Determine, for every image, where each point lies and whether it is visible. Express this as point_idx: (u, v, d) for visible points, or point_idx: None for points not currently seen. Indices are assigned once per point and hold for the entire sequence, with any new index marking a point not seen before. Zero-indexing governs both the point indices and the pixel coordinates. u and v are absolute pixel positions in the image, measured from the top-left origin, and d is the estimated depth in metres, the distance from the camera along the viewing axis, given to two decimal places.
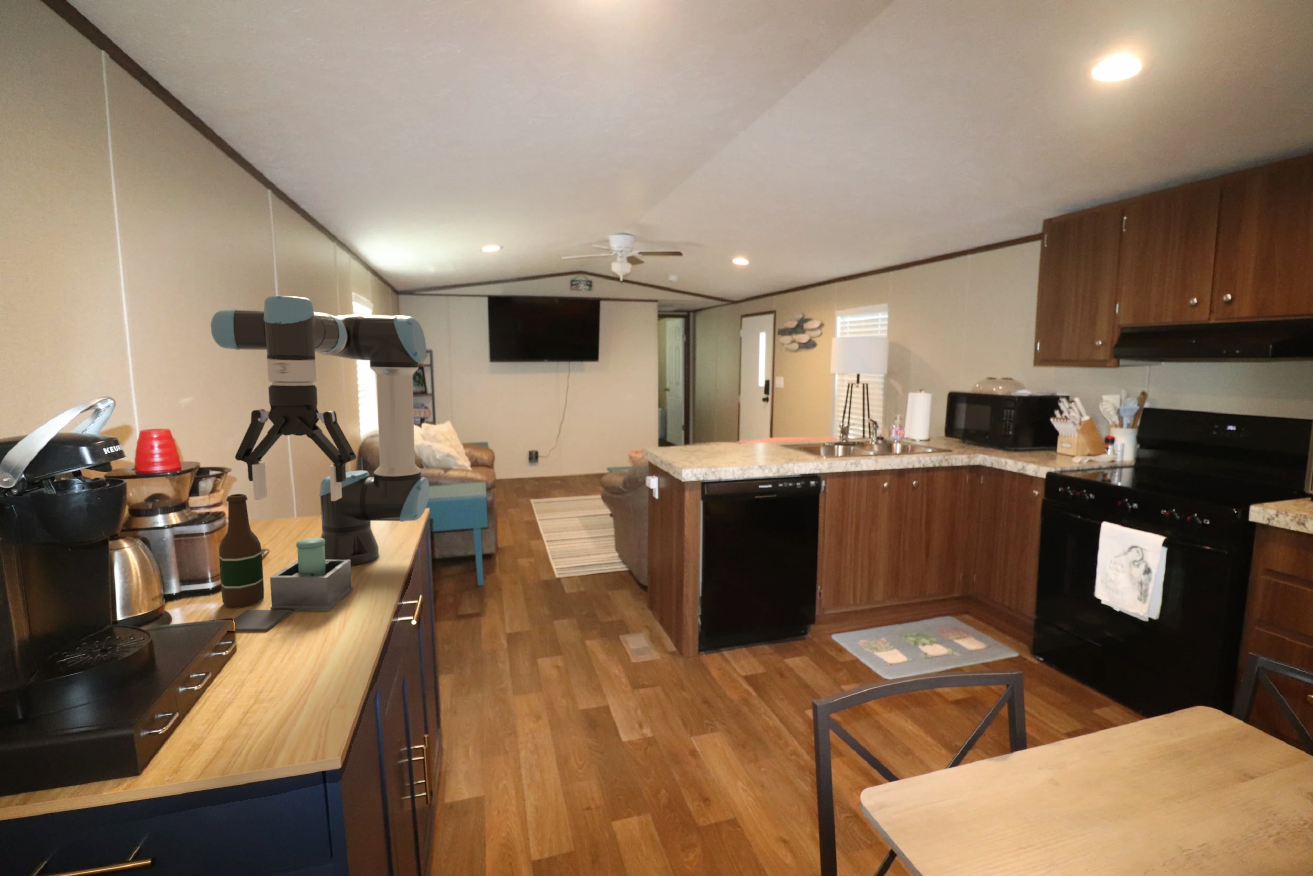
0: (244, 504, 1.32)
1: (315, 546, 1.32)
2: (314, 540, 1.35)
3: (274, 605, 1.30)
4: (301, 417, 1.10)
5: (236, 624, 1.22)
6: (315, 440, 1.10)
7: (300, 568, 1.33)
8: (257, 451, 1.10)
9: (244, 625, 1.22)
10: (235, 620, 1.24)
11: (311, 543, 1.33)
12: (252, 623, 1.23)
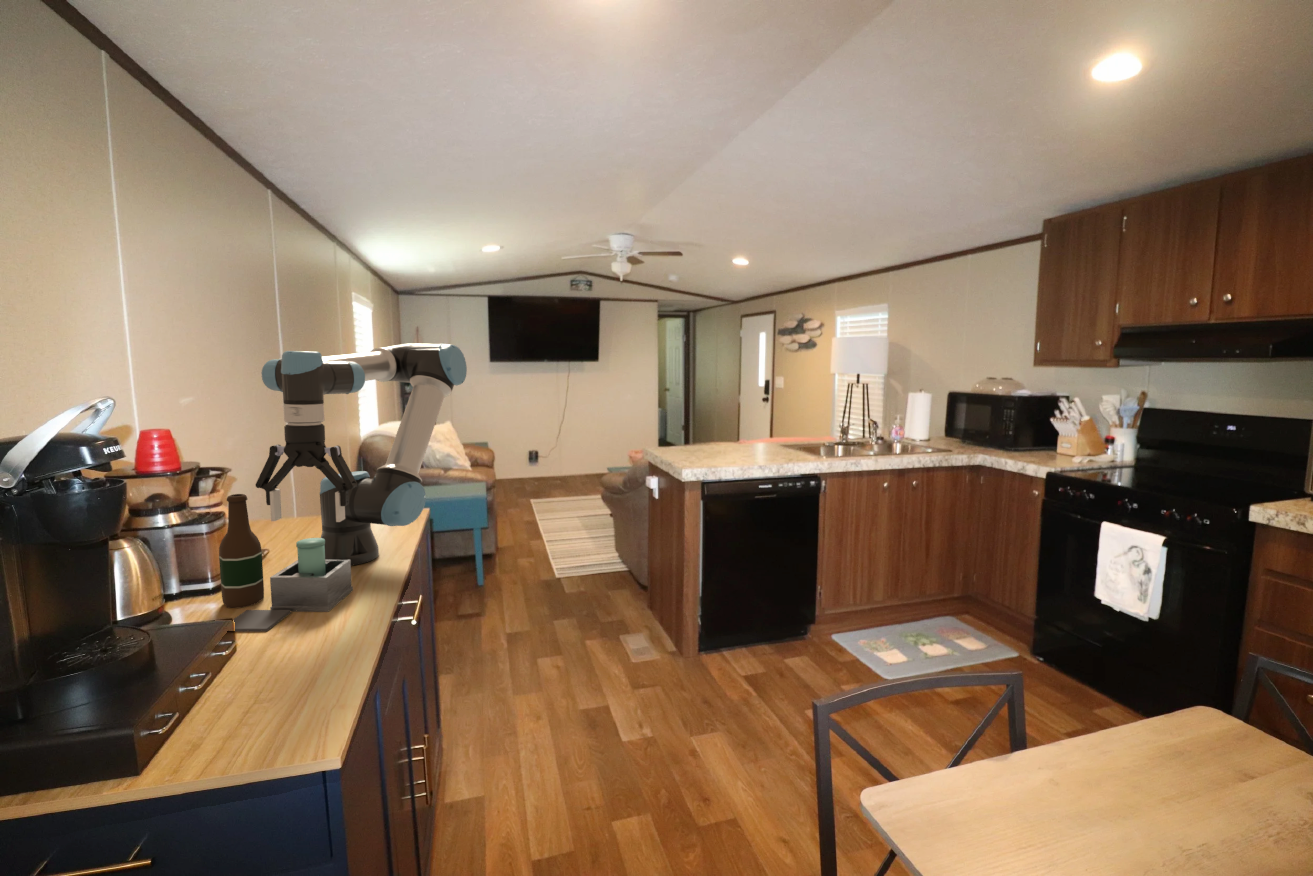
0: (244, 504, 1.32)
1: (315, 546, 1.32)
2: (314, 540, 1.35)
3: (274, 605, 1.30)
4: (311, 451, 1.30)
5: (236, 624, 1.22)
6: (323, 471, 1.31)
7: (300, 568, 1.33)
8: (274, 480, 1.31)
9: (244, 625, 1.22)
10: (235, 620, 1.24)
11: (311, 543, 1.33)
12: (252, 623, 1.23)
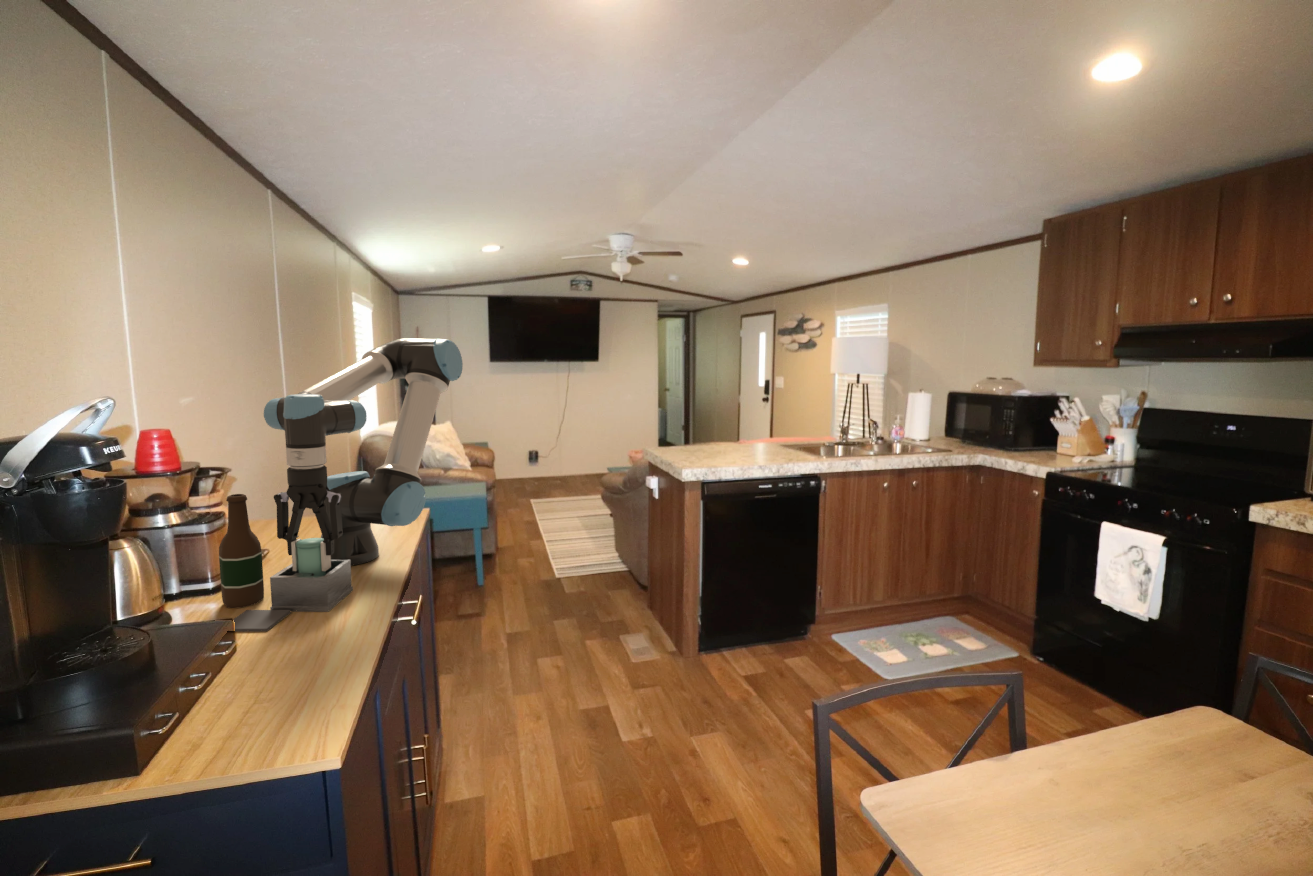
0: (244, 504, 1.32)
1: (315, 546, 1.32)
2: (314, 540, 1.35)
3: (274, 605, 1.30)
4: (315, 495, 1.32)
5: (236, 624, 1.22)
6: (317, 516, 1.32)
7: (300, 568, 1.33)
8: (291, 529, 1.32)
9: (244, 625, 1.22)
10: (235, 620, 1.24)
11: (311, 543, 1.33)
12: (252, 623, 1.23)
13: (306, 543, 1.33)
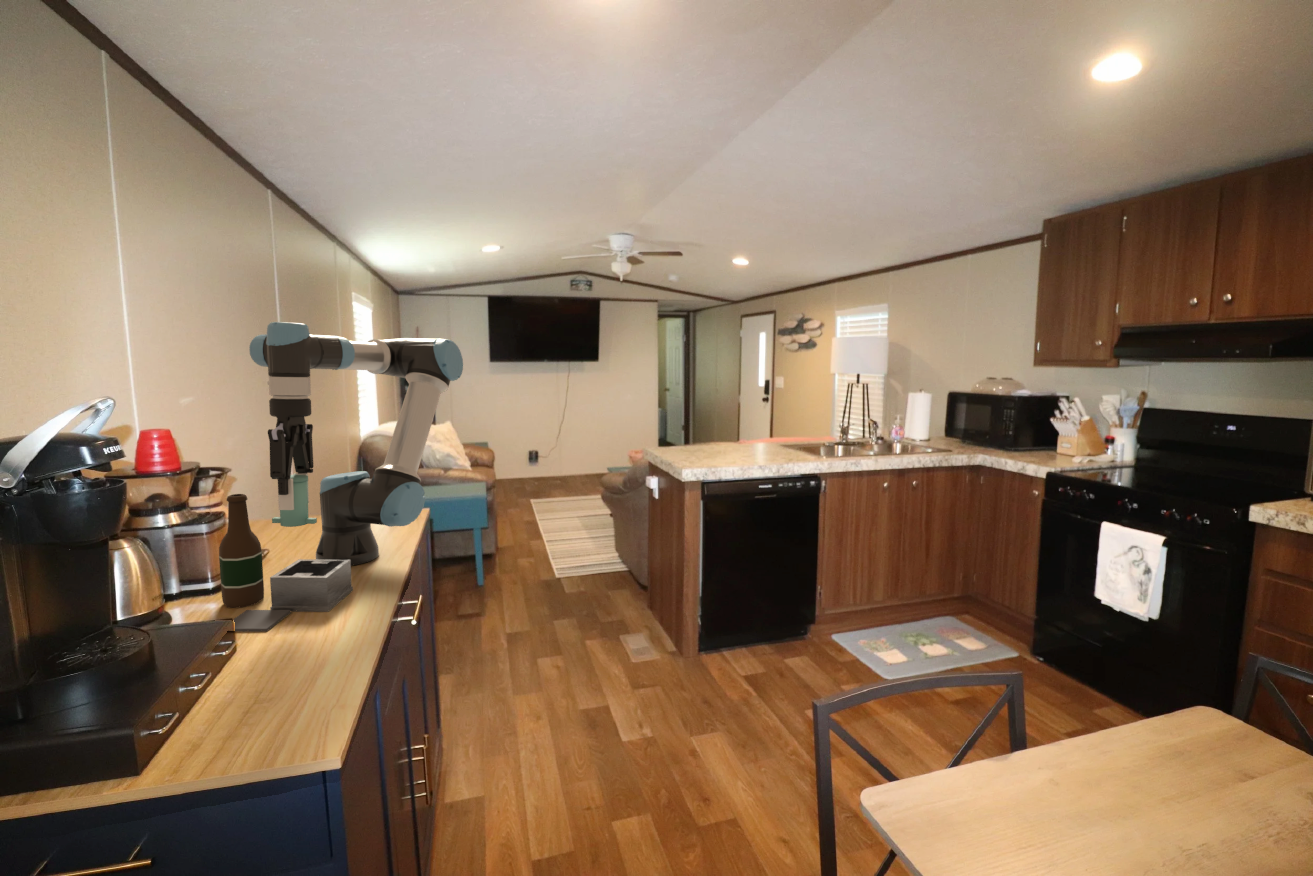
0: (244, 504, 1.32)
1: None
2: (297, 477, 1.29)
3: (274, 605, 1.30)
4: None
5: (236, 624, 1.22)
6: None
7: None
8: None
9: (244, 625, 1.22)
10: (235, 620, 1.24)
11: None
12: (252, 623, 1.23)
13: None
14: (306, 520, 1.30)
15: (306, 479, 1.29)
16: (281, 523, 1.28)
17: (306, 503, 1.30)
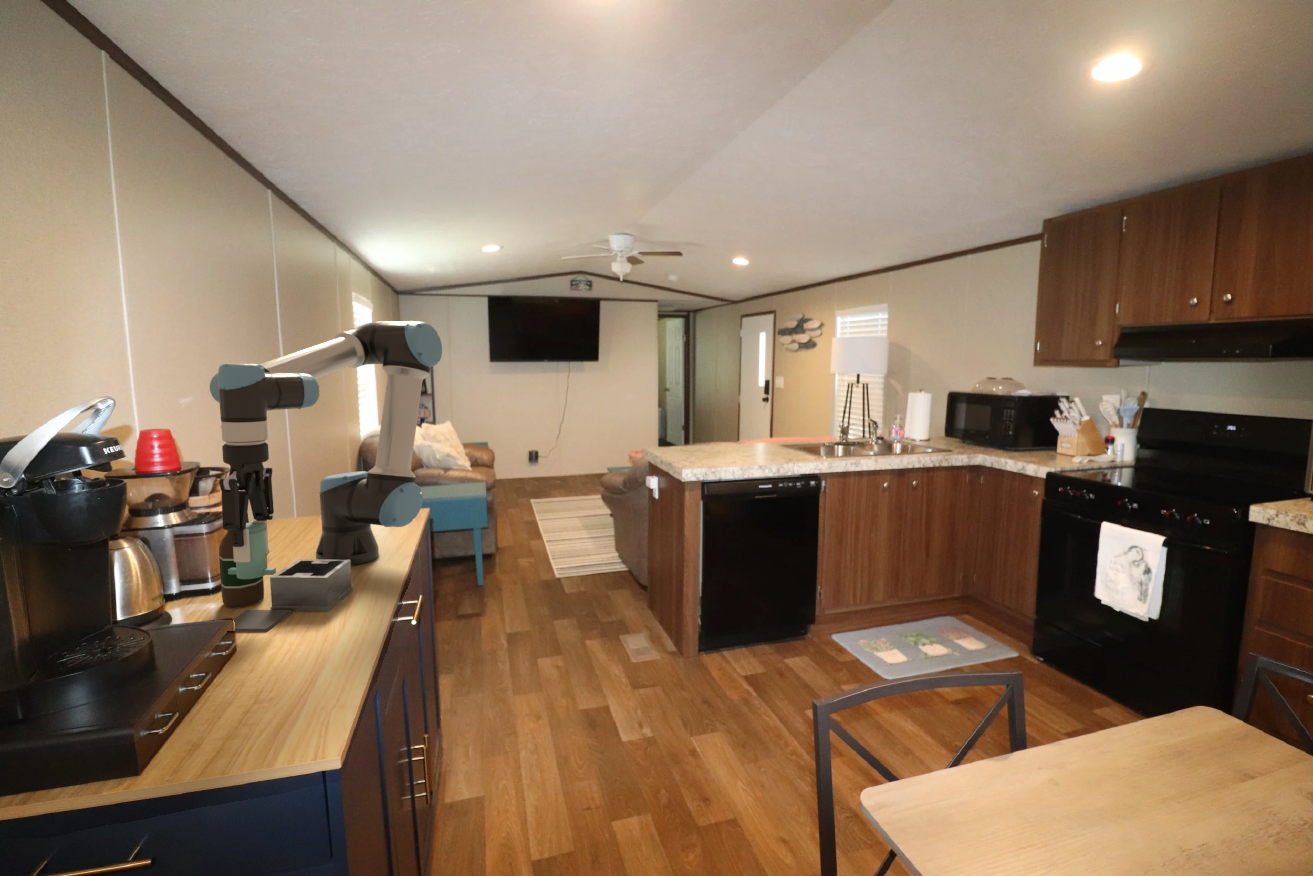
0: None
1: None
2: (254, 526, 1.22)
3: (274, 605, 1.30)
4: None
5: (236, 624, 1.22)
6: None
7: None
8: None
9: (244, 625, 1.22)
10: (235, 620, 1.24)
11: None
12: (252, 623, 1.23)
13: None
14: (264, 571, 1.23)
15: (263, 528, 1.22)
16: (237, 575, 1.21)
17: (264, 553, 1.23)
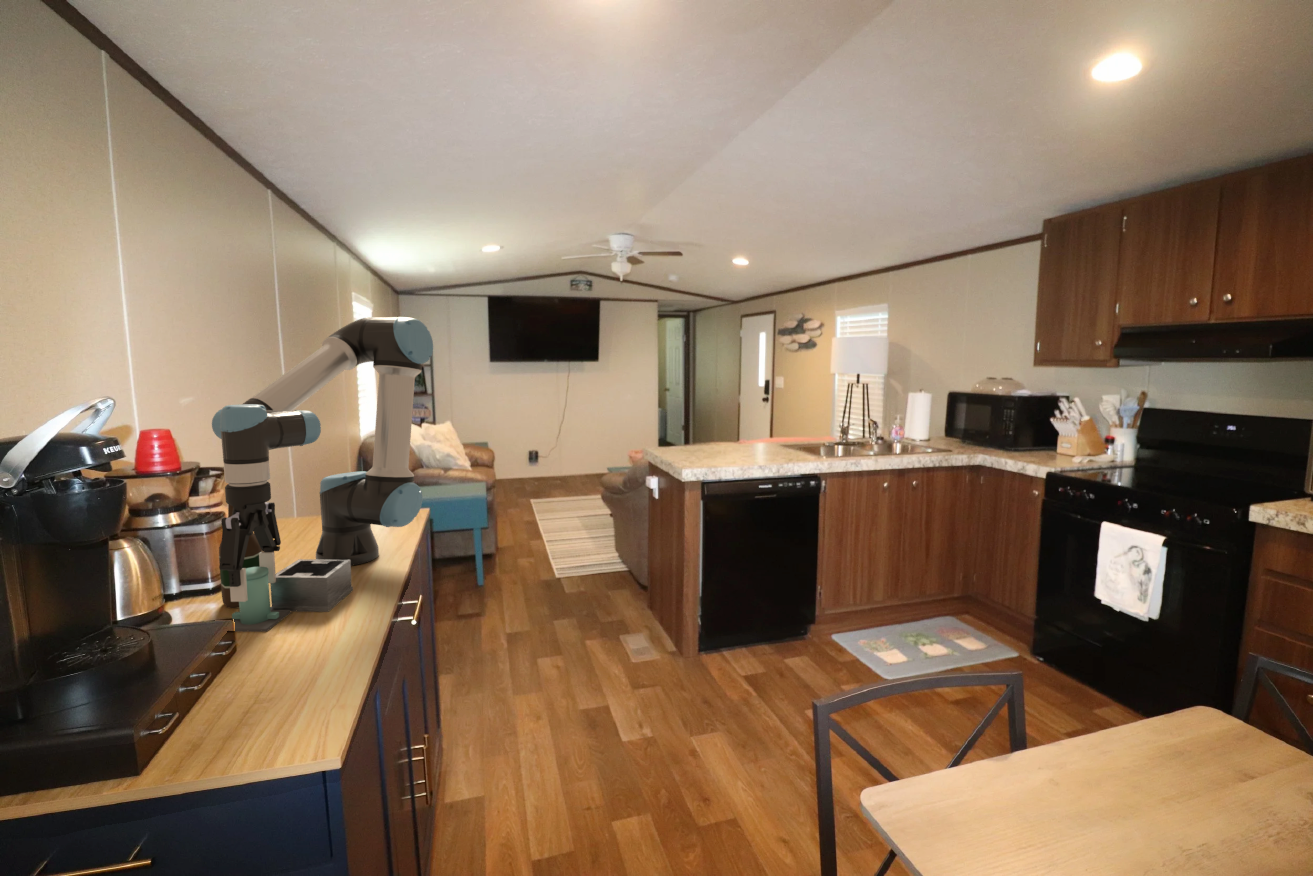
0: None
1: None
2: (257, 572, 1.23)
3: (274, 605, 1.30)
4: None
5: (236, 624, 1.22)
6: None
7: None
8: None
9: (244, 625, 1.22)
10: (235, 620, 1.24)
11: None
12: None
13: None
14: (267, 615, 1.24)
15: (266, 573, 1.23)
16: (241, 620, 1.23)
17: (267, 598, 1.24)
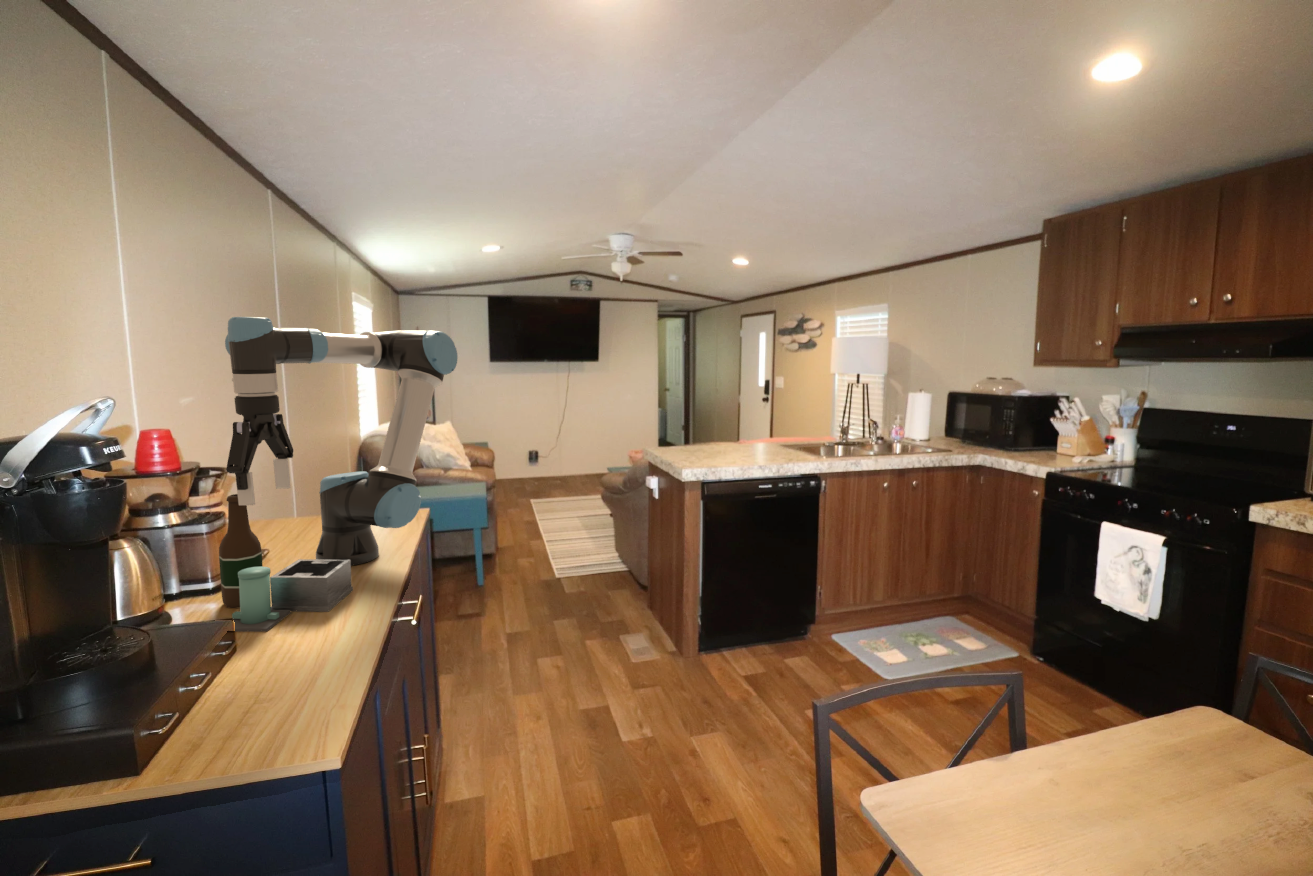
0: None
1: (238, 576, 1.21)
2: (259, 571, 1.23)
3: (274, 605, 1.30)
4: None
5: (236, 624, 1.22)
6: None
7: None
8: None
9: (244, 625, 1.22)
10: (235, 620, 1.24)
11: (245, 571, 1.23)
12: None
13: (247, 570, 1.24)
14: (267, 616, 1.24)
15: (268, 573, 1.24)
16: (241, 620, 1.23)
17: (268, 598, 1.24)
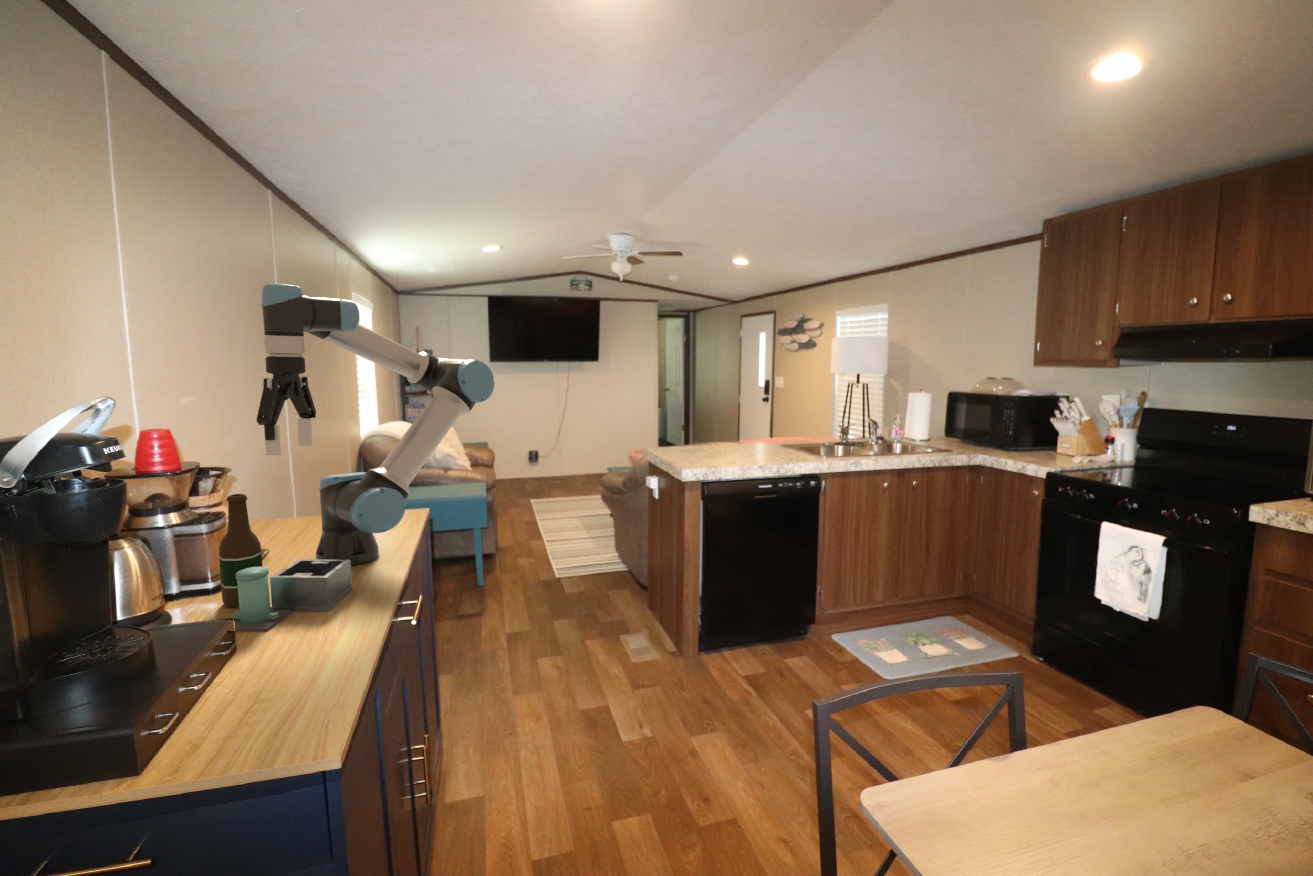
0: (244, 504, 1.32)
1: (236, 577, 1.21)
2: (256, 572, 1.23)
3: (274, 605, 1.30)
4: None
5: (236, 624, 1.22)
6: None
7: None
8: None
9: (244, 625, 1.22)
10: (235, 620, 1.24)
11: (243, 572, 1.22)
12: None
13: (245, 571, 1.23)
14: (267, 616, 1.24)
15: (265, 574, 1.23)
16: (241, 620, 1.23)
17: (267, 598, 1.24)
